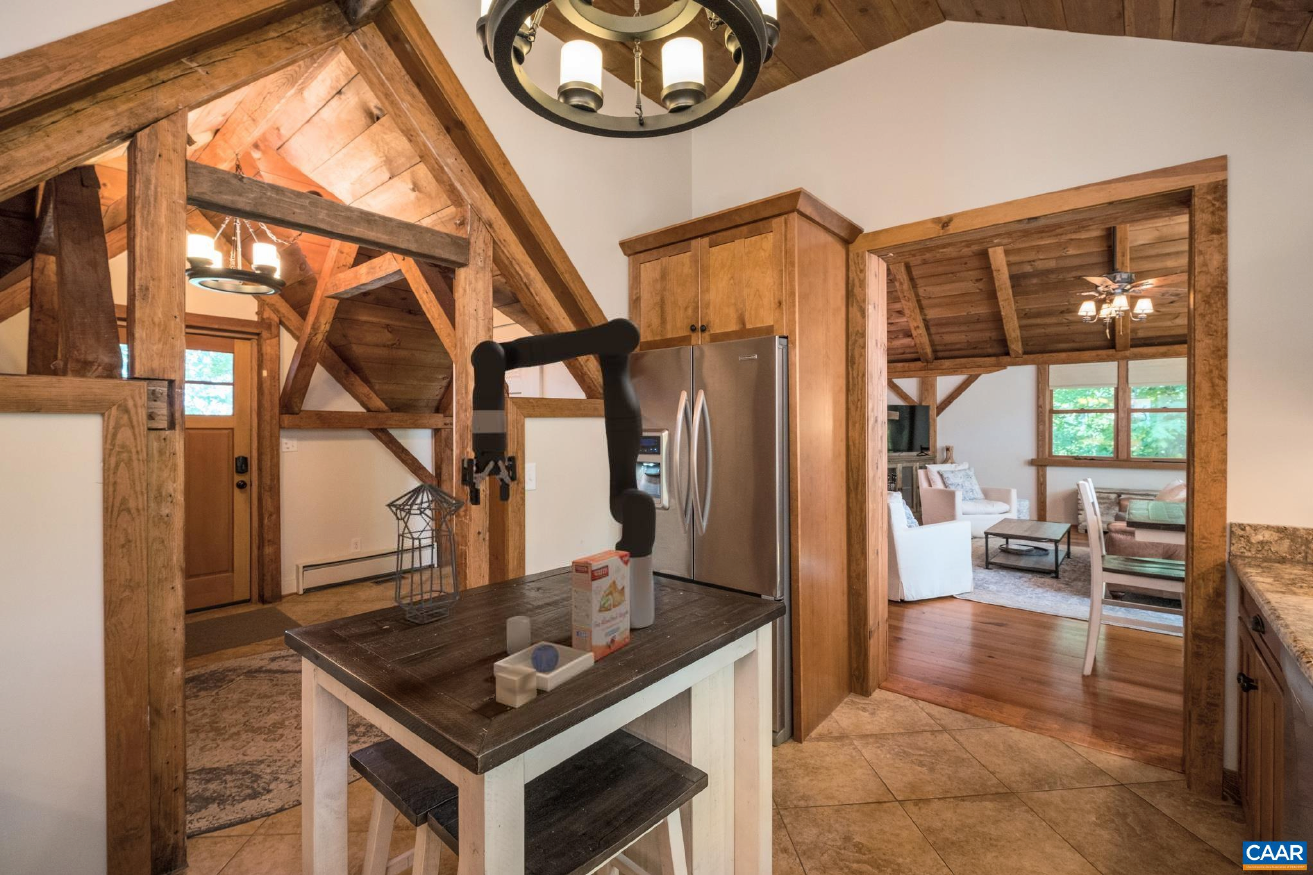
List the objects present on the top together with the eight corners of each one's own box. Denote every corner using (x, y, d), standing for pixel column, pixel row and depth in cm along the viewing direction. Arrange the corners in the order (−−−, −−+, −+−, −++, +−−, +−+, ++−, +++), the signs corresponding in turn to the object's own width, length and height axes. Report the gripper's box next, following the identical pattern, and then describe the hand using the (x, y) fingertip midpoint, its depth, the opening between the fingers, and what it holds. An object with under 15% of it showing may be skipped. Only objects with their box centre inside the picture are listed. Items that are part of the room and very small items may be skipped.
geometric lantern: (384, 618, 152) (382, 484, 152) (441, 604, 164) (438, 479, 163) (413, 631, 142) (411, 487, 141) (471, 615, 154) (469, 482, 153)
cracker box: (593, 664, 120) (592, 563, 120) (570, 659, 123) (569, 560, 123) (632, 643, 132) (630, 550, 132) (610, 638, 135) (609, 548, 135)
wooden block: (516, 690, 109) (516, 664, 109) (536, 697, 106) (536, 669, 106) (496, 701, 104) (495, 673, 104) (516, 708, 102) (516, 680, 102)
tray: (542, 652, 127) (542, 640, 127) (594, 664, 120) (593, 652, 120) (493, 675, 115) (493, 663, 115) (548, 691, 108) (547, 678, 108)
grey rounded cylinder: (518, 645, 132) (518, 614, 131) (535, 649, 129) (534, 618, 129) (502, 653, 127) (501, 621, 127) (519, 657, 125) (518, 624, 125)
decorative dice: (530, 668, 117) (530, 648, 117) (546, 662, 120) (546, 643, 120) (543, 673, 115) (543, 653, 115) (559, 667, 118) (559, 647, 118)
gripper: (476, 431, 124) (477, 507, 124) (524, 430, 136) (525, 500, 136) (452, 431, 127) (453, 505, 128) (500, 431, 140) (501, 498, 140)
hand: (490, 503), depth 132 cm, fingers open, 8 cm apart
